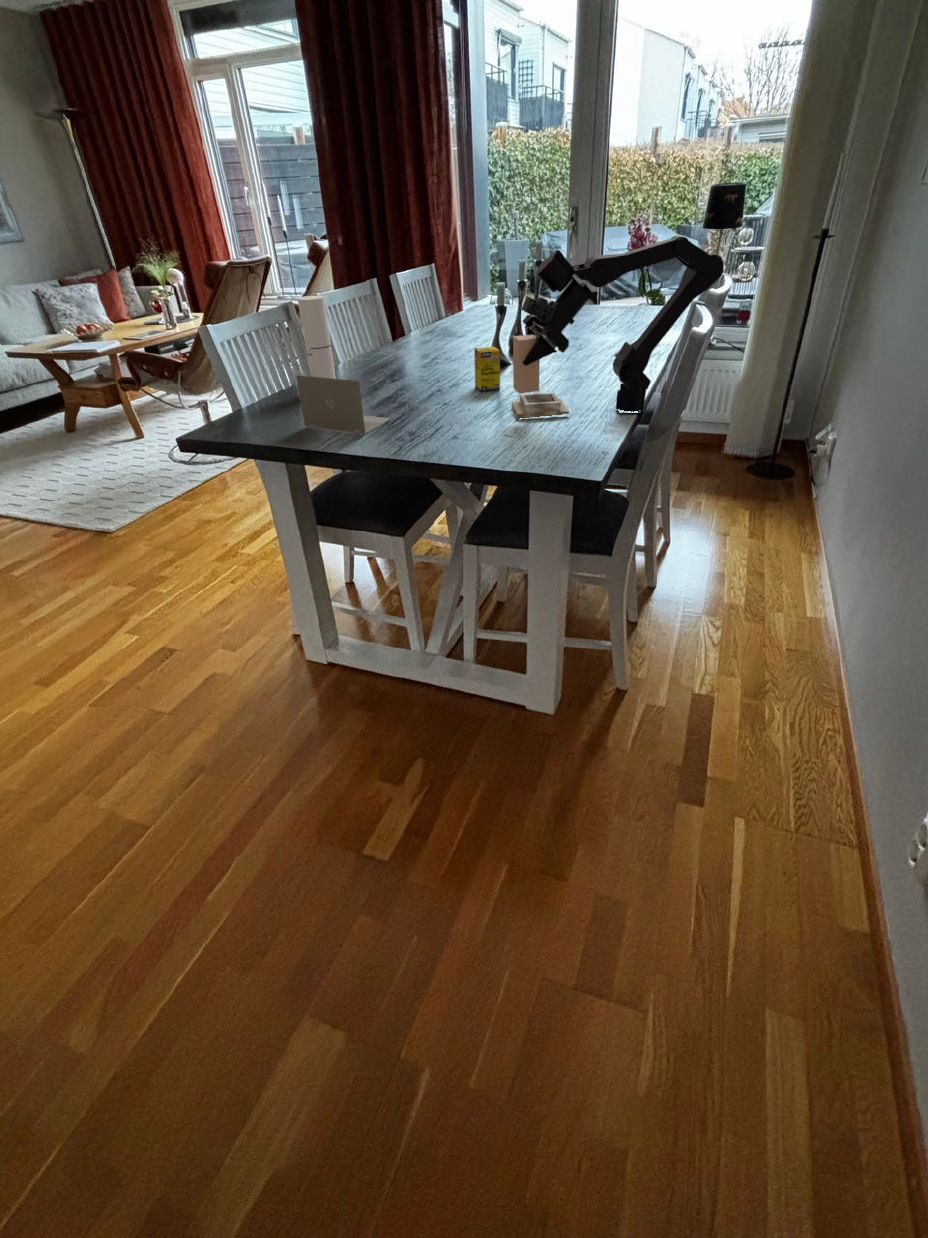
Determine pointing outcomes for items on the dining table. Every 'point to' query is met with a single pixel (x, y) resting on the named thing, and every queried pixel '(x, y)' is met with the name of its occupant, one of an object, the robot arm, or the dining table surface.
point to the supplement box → (487, 369)
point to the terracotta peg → (524, 375)
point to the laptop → (335, 406)
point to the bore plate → (538, 405)
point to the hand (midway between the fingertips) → (520, 361)
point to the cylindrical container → (316, 336)
